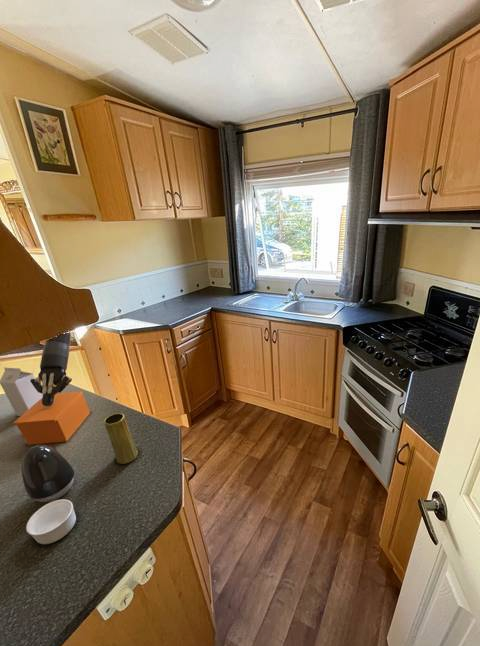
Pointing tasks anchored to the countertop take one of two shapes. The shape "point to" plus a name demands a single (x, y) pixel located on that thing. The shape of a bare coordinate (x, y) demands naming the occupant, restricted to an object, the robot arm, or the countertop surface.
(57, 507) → the ramekin
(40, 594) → the countertop surface
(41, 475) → the dark rounded cone
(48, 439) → the box
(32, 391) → the milk carton
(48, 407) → the lid
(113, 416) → the vase
